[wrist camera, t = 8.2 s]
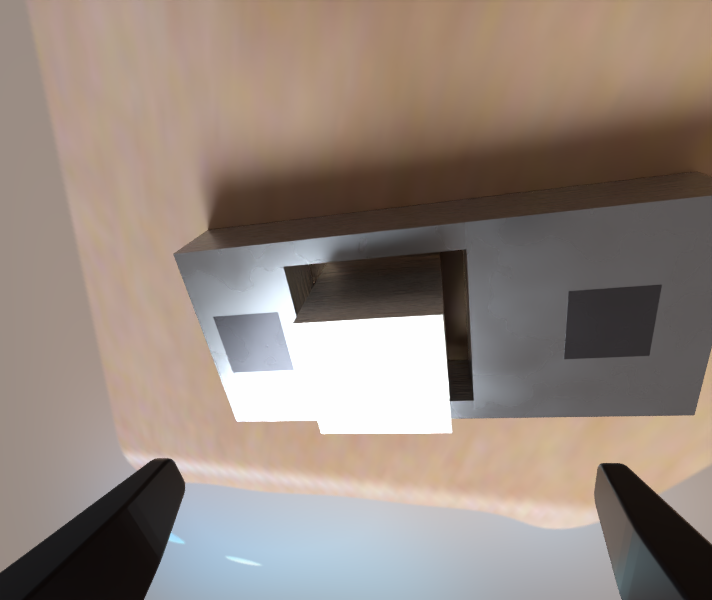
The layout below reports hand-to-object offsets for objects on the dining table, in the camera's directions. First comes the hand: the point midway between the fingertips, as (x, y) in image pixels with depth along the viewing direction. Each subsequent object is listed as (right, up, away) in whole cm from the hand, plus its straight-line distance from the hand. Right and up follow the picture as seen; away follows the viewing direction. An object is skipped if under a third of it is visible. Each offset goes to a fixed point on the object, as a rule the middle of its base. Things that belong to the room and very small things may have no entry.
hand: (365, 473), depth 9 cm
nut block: (+1, +4, +11) cm, 12 cm away
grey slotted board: (+3, +4, +11) cm, 12 cm away
